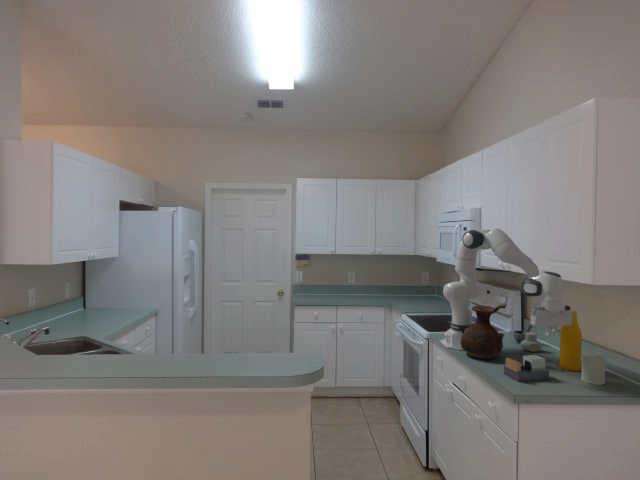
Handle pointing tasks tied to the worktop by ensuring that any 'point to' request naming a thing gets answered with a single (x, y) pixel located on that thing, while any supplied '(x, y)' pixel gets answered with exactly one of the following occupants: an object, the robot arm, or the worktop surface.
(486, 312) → the jug
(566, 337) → the beer bottle
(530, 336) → the air freshener
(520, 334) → the mortar and pestle
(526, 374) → the base
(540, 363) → the notched grey block
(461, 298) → the robot arm
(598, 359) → the can
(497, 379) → the worktop surface
